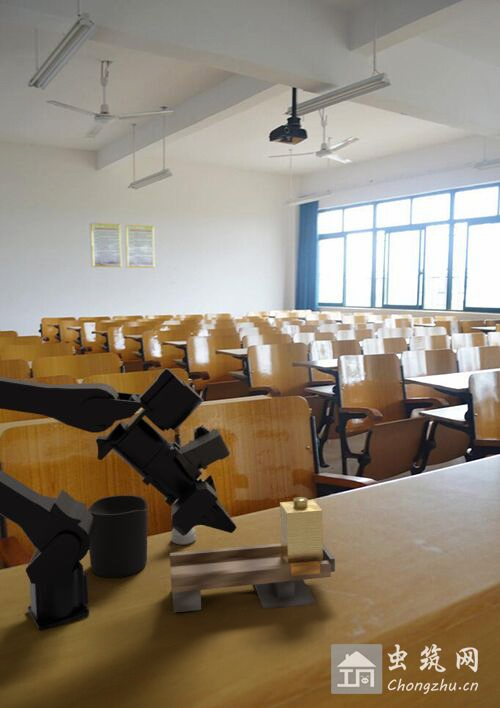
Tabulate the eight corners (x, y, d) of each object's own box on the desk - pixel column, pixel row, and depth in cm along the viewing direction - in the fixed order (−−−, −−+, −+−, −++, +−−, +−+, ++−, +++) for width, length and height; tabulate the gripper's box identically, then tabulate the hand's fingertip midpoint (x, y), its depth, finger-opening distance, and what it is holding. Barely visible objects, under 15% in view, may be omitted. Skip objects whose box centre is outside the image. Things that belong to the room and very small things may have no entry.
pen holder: (161, 564, 91) (159, 502, 90) (111, 586, 84) (108, 519, 83) (126, 549, 97) (123, 491, 96) (76, 568, 90) (73, 506, 89)
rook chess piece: (192, 546, 97) (190, 500, 97) (167, 544, 98) (165, 499, 98) (199, 536, 102) (198, 492, 101) (175, 535, 103) (174, 491, 102)
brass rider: (288, 569, 78) (286, 506, 78) (281, 556, 83) (279, 495, 82) (323, 566, 79) (322, 503, 79) (314, 553, 84) (313, 493, 83)
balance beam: (172, 618, 74) (171, 575, 74) (170, 586, 83) (169, 547, 82) (336, 601, 77) (335, 559, 77) (317, 572, 86) (317, 534, 86)
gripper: (198, 424, 68) (288, 508, 71) (189, 402, 86) (261, 469, 89) (132, 493, 67) (226, 576, 70) (138, 455, 86) (212, 522, 88)
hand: (234, 529), depth 79 cm, fingers closed
